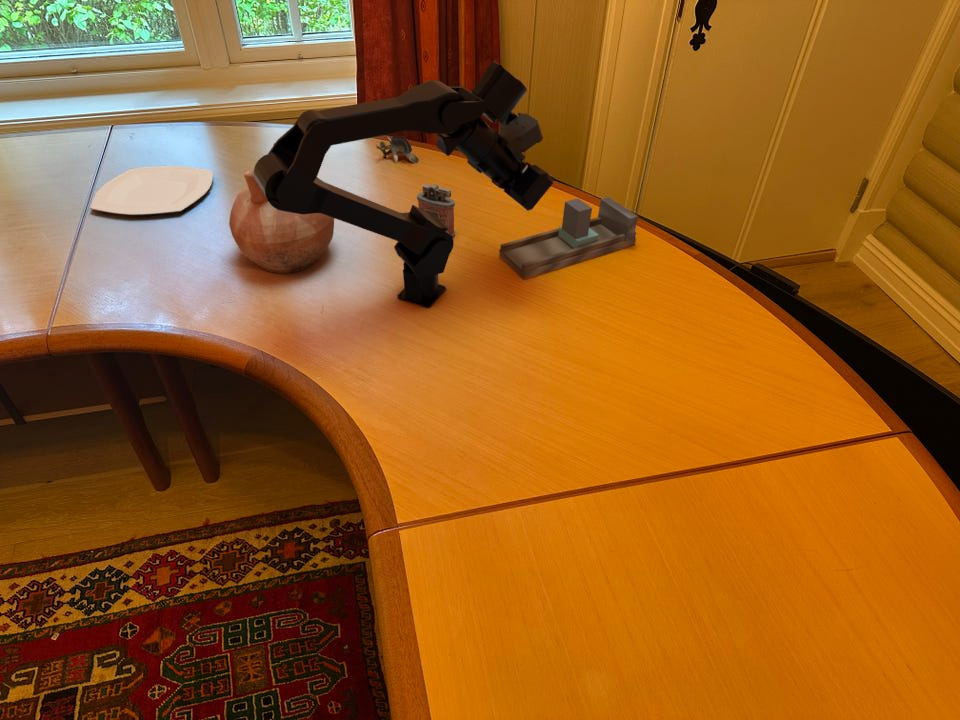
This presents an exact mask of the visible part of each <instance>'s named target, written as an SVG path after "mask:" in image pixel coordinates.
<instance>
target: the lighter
mask: <svg viewBox="0 0 960 720" xmlns="http://www.w3.org/2000/svg"><path fill="white" fill-rule="evenodd" d="M421 186H422V187H421V188H422V189H421V190H422V192H421V191H420V192H419V193H418V194H417V195H416V200H417V204H418V208H419V209H421V210H423V211H431V212H432V213H433V214H434V215H435V216H436V217H437V218H438V219H439V220H440V221H441V222H442V223H443V224H444V225H445V226H446V227H447V228H448V230H447V232H449V233H450V234H451V236H452V237H453V239H455V237H456V231H455V206H456V203H455V202H456V201H455V200H454V199H452V198H451V197H452V191H451V189H448V188H445V187H440V186H439V185H438V184H436V183H435V184H433V185H430V184H425V183H423V184H422V185H421Z"/></svg>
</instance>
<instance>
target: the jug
mask: <svg viewBox="0 0 960 720" xmlns="http://www.w3.org/2000/svg"><path fill="white" fill-rule="evenodd" d="M275 143H276V142H274V143H273V144H272V145H273V146H274V144H275ZM273 146H272V147H273ZM243 176H244V178H245V179H244V180H245V181H246V184H247V185H246V186H245V187H243V188H242V189H241V190H240V192H239V193H238V194H237V196H236V198H235V199H234V202H233V204H232V207H231V209H230V213H229V214H230V215H229V221H228V222H229V223H228V225H229V229H230V233H231V235H232V236H231V237H232V238H233V240H234V242H235V243H236V245H237V247H238V248H239V250H240V252H242V254H244V255H245V256H246V257H247V258H249V260H251V261H252V262H253V263H255V264H256V265H258V266H260V267H261V268H262V269H263V270H265V271H267V272H270V273H275V274H287V273H288V274H289V273H294V272H298V271H301V270H304V269H306V268H308V267H311V266H312V265H313V264H314V263H316V262H317V261H318V260H319V258H320V257H321V256H322V254H324V252H325V251H326V249H327V248H328V247H329V245H330V243H331V241H332V239H333V236H334V229H335V218H332V217H330V216H327V215H324V214H320V213H314V214H304V215H303V214H297V213H291V212H285V211H280V210H278V209H276V208H274V207H273V206H272V205H271V204H270V203H269V202H268V200H267V199H266V197H265V196H264V194H263V192H262V191H261V189H260V188H259V186H258V185H257V183H256V181H255V178H254V170H253V171H251V170H248V171H245V172H244V174H243Z"/></svg>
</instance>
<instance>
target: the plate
mask: <svg viewBox="0 0 960 720" xmlns="http://www.w3.org/2000/svg"><path fill="white" fill-rule="evenodd" d="M213 178H214V171H213V170H209V169H203V168H197V167H192V166H182V165H181V166H180V165H161V166H157V165H156V166H146V167H144V166H143V167H136V168H130V169H128V170H126V171H124V172H122V173H120V174H119V175H117V176H116V177H113V178H112V179H110V180H108V181H107V182H106V183H105V184H103V185H102V186H101V187H100V188H99V190H97V191H96V193H95V195H94V197H93V199H92V201H91V204H90V206H89V209H90V210H93V211H98V212H104V213H109V214H114V215H115V214H116V215H125V216H147V215H149V216H150V215H152V216H153V215H161V214H162V215H163V214H173V213H180V212H183V211H184V210H186V209H187V208H188V207H190V206H191V205H193V204H194V203H196V202H197V201H199V200H200V199H202V198H203V197H204V196H205V195H206V194H207V193H208V192H209V190H210V188H211V187H212V183H213Z"/></svg>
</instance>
